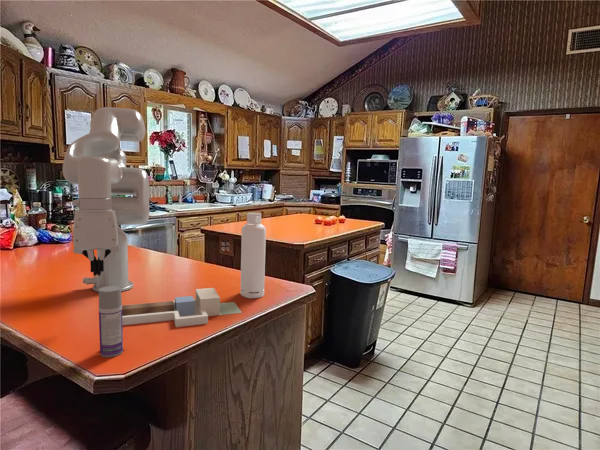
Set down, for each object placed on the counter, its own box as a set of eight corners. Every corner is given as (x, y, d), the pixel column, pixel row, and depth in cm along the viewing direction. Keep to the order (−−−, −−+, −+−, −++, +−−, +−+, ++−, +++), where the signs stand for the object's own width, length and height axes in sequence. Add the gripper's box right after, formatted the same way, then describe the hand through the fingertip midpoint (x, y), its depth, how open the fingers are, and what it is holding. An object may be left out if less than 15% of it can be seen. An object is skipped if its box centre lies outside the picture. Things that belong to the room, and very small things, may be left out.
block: (176, 316, 111) (176, 302, 110) (174, 310, 115) (174, 297, 115) (194, 314, 112) (194, 301, 112) (192, 308, 117) (192, 295, 116)
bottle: (254, 299, 128) (256, 215, 125) (235, 295, 133) (236, 213, 129) (268, 293, 135) (271, 213, 132) (250, 289, 140) (252, 211, 136)
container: (105, 348, 91) (103, 285, 89) (126, 348, 91) (124, 285, 89) (96, 357, 86) (94, 291, 84) (118, 357, 86) (116, 292, 84)
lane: (118, 334, 98) (117, 313, 97) (120, 314, 112) (119, 295, 111) (246, 320, 111) (246, 301, 110) (234, 303, 124) (234, 286, 124)
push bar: (120, 320, 106) (120, 309, 105) (120, 316, 109) (120, 305, 108) (174, 315, 111) (174, 304, 111) (173, 311, 114) (173, 301, 114)
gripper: (59, 206, 95) (62, 280, 97) (126, 206, 100) (128, 276, 102) (64, 203, 101) (67, 273, 103) (127, 204, 107) (128, 269, 109)
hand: (97, 274), depth 103 cm, fingers closed
